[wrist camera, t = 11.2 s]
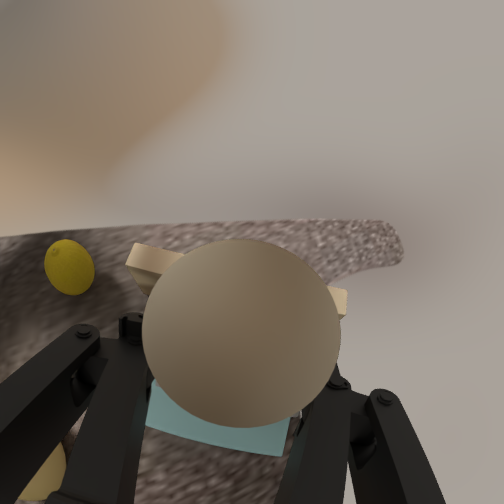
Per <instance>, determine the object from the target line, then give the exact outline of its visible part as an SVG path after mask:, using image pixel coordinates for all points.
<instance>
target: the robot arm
mask: <svg viewBox="0 0 504 504" xmlns="http://www.w3.org/2000/svg"><path fill="white" fill-rule="evenodd" d="M143 315H144V314H141V313H126V314H124V315H122V316H121V317H120V318H119V338H118V339H108V338H101V337H100V332H99V330H98V329H97V328H96V327H94V326H92V325H89V324H78V325H75V326H73V327H71V328H70V329H68V330H67V331H66V332H64V333H63V334H62V335H60V336H59V337H58V338H57V339H55V340H54V341H53V342H51V343H50V344H49V345H48V346H46V347H45V348H44V349H43V350H41V351H40V352H39V353H37V354H36V355H35V356H34V357H32V358H31V359H30V360H29V361H28V362H26V363H25V364H24V365H23V366H21V367H20V368H19V369H18V370H17V371H15V372H14V373H13V374H12V375H10V376H9V377H8V378H7V379H6V380H5V381H3V382H2V383H1V384H0V504H14V503H15V501H16V500H17V499H18V497H19V496H20V495H21V493H22V492H23V490H24V489H25V488H26V486H27V485H28V484H29V482H30V481H31V480H32V478H33V477H34V476H35V474H36V473H37V472H38V470H39V469H40V468H41V466H42V465H43V464H44V462H45V461H46V460H47V459H48V457H49V456H50V455H51V453H52V452H53V451H54V449H55V448H56V447H57V446H58V444H59V443H60V442H61V440H62V439H63V438H64V437H65V435H66V434H67V433H68V431H69V430H70V429H71V428H72V426H73V425H74V424H75V423H76V421H77V420H78V419H79V418H80V416H81V415H82V414H83V413H84V411H85V410H86V409H87V408H88V409H87V411H86V414H85V417H84V419H83V422H82V424H81V427H80V430H79V432H78V435H77V438H76V441H75V444H74V446H73V449H72V452H71V455H70V458H69V461H68V464H67V467H66V470H65V474H64V477H63V480H62V483H61V486H60V488H59V489H58V490H57V491H53V492H51V493H50V494H49V495H48V497H47V499H46V502H45V504H134V496H135V488H136V480H137V473H138V466H139V459H140V453H141V447H142V440H143V435H144V429H145V423H146V418H147V412H148V407H149V402H150V397H151V392H152V382H153V380H154V379H155V378H154V376H153V374H152V372H151V370H150V368H149V365H148V363H147V360H146V356H145V353H144V348H143V341H142V322H143ZM156 386H158V387H160V386H159V384H158V382H157V381H156ZM300 411H301V410H300ZM300 411H299V412H297V413H295V414H294V415H292V416H290V417H298V415H299V413H300ZM293 436H295V438H294V441H293V445H292V448H291V452H290V455H289V458H288V462H287V465H286V468H285V471H284V474H283V478H282V481H281V484H280V487H279V490H278V493H277V496H276V498H275V501H274V504H343V498H344V490H345V482H346V473H347V462H348V464H349V469H350V474H351V478H352V483H353V488H354V494H355V498H356V504H446V503H445V500H444V498H443V495H442V492H441V490H440V488H439V485H438V483H437V480H436V478H435V475H434V473H433V471H432V468H431V466H430V464H429V462H428V459H427V457H426V455H425V453H424V450H423V448H422V446H421V444H420V442H419V440H418V437H417V435H416V433H415V431H414V429H413V427H412V424H411V422H410V420H409V418H408V416H407V414H406V412H405V410H404V408H403V406H402V404H401V402H400V400H399V398H398V397H397V396H396V395H395V394H394V393H392V392H391V391H388V390H385V389H375V390H373V391H372V392H371V393H370V395H369V396H366V395H363V394H360V393H357V392H354V391H352V390H351V385H350V383H349V382H348V381H347V380H346V379H345V378H343V377H341V376H340V373H339V369H338V366H337V362H336V365H335V368H334V370H333V372H332V374H331V376H330V378H329V380H328V382H327V383H326V385H325V386H324V388H323V389H322V391H321V392H320V393H319V394H318V395H317V396H316V397H315V398H314V399H313V401H311V402H310V403H309V404H308V405H307V406H305V407H304V408H303V409H302V418H301V420H300V422H299V424H298V426H297V428H296V430H295V432H294V434H293Z"/></svg>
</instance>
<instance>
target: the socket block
mask: <svg viewBox="0 0 504 504" xmlns="http://www.w3.org/2000/svg"><path fill="white" fill-rule="evenodd" d="M289 421H290V417H288V418H286V419H284V420H281V421H279V422H276V423H273V424H269V425H265V426H260V427H252V428H233V427H226V426H220V425H217V424H213V423H210V422H207V421H204V420H202V419H200V418H198V417H196V416H193V415H192V414H190V413H189V412H187V411H185V410H184V409H182V408H181V407H180V406H179V405H177V404H176V403H175V402H174V401H173V400H172V399H170V398H169V396H168V395H167V394H166V393H165V392H164V391H163V389H162V388H161V387H158V386H156V379H154V380H153V382H152V392H151V397H150V402H149V407H148V412H147V418H146V423H145V425H146V426H149V427H152V428H155V429H158V430H161V431H164V432H167V433H170V434H173V435H177V436H180V437H184V438H187V439H191V440H195V441H199V442H203V443H207V444H211V445H215V446H220V447H224V448H229V449H234V450H240V451H245V452H251V453H257V454H264V455H272V456H280V457H282V454H283V449H284V445H285V440H286V436H287V431H288V426H289Z"/></svg>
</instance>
